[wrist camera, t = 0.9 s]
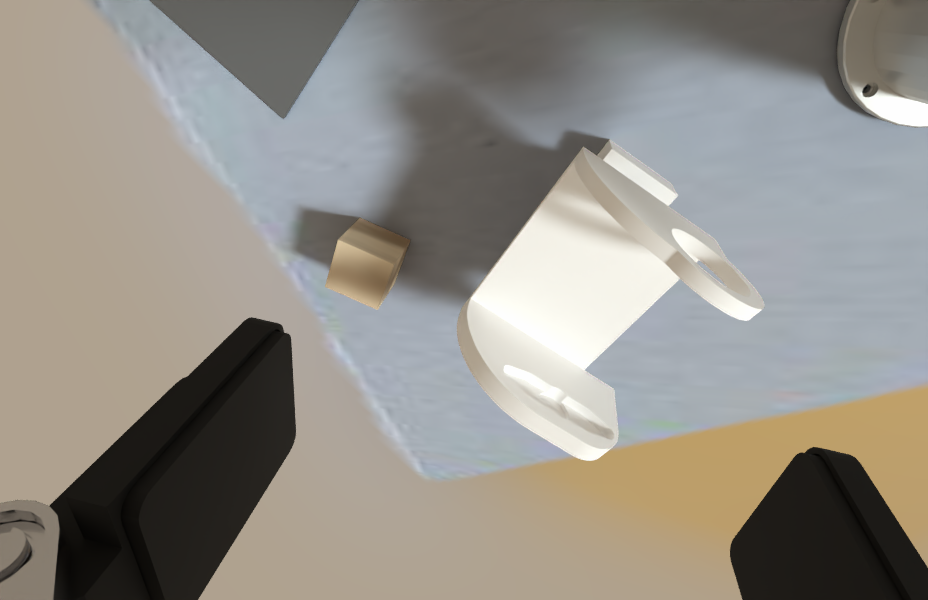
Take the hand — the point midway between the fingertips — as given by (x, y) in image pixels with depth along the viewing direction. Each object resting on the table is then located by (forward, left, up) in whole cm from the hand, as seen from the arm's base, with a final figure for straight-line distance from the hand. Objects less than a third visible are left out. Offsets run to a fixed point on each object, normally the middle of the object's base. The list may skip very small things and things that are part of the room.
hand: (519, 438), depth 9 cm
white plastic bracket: (+5, +9, -33) cm, 35 cm away
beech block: (+20, -3, -33) cm, 39 cm away
